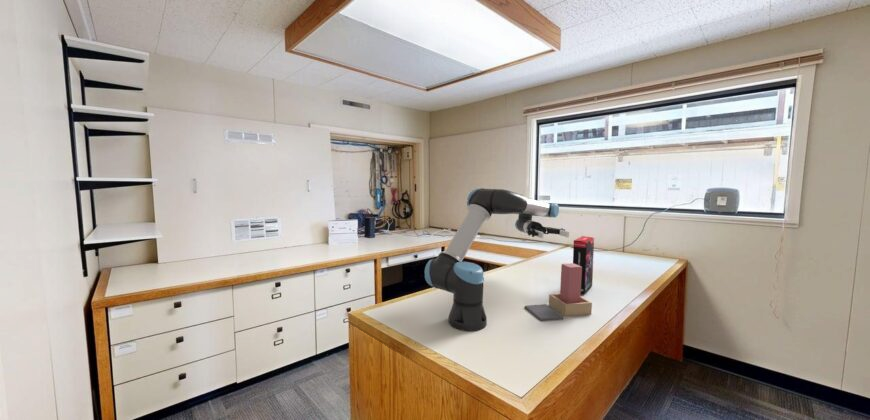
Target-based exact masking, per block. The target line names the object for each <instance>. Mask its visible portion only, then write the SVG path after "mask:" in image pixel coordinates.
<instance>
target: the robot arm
mask: <svg viewBox="0 0 870 420" xmlns="http://www.w3.org/2000/svg"><path fill="white" fill-rule="evenodd" d="M466 206H467V207H466V209H467V213H466V215H465V217H464V219H463V220H462V222H461V224H460V225H459V227H458V229H457V231H456V232H455V234H454V235H453V237H452V239H451V241H450V242H449V244H448V246H447V247H446V249H445V251H441V252H439V254H438V255H437V257H436V258H432V259H429V260H428V262H427V263H426V265H425V267H424V279H425V281H426V283H427V284H428V285H429V286H430V287H433V288H435V289H439V290H442V291H445V292H448V293H451V294H453V302H452V306H451V309H450V311H449V314H448V324H449V325H450V326H451V327H452V328H454V329H458V330H461V331H467V332H471V331H473V332H474V331H479V330H482V329H484V328H486V326H487V325H488V323H487V322H488V320H487V315H486V311H485V308H484V304H483V303H484V301H483V300H484V282H485V278H484V277H485V276H484V270H483V268H482V267H481V266H480V265H479V264H476V263H475V262H470V261H464V259H465V257H466V255H467V253H468V252H469V250H470V248H471V246H472V244H473V242H474V240H475V238H476V237H477V235H478V234H479V231H480V230H481V228H482V226H483V224H484V223H485V222H486V221H489V220H490V219H491V217H492V215H493V214H494V215H518V217H517V219H516V221H515V223H514V226H515V229H517V230H518V231H519V232H521V233H524V234H527V235H528V236H529V237H530V236H531V237H532V238H534V237H537V238H540V239H544V235H549V234H551V235H552V234H553V235H559V236H561V237H565V238H570V231H566V229H563V228H556V227H550V226H548V227H547V226H543V225H542V223H541V222H539V221H534V220H533V217H534V216H535V217H544V218H556V217H557V218H558V216H559V212H560V208H559V207H560V206H559V204H557V203H553V202H551V203H550V202H545V201H541V200H537V199H533V198H529V197H526V196H525V195H524V194H520V193H518V192H515V191H511V190H507V189H502V188H499V189H498V188H483V187H480V188H475V189H473V190H472V191H471V192H469V194H468V196H467V201H466Z"/></svg>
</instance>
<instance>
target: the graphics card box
mask: <svg viewBox="0 0 870 420" xmlns="http://www.w3.org/2000/svg"><path fill="white" fill-rule="evenodd" d="M594 248H595V237H591V236H585V235H582V236H580V237H577V238H576V239H574V240H573V252H572V255H573V256H572V263H574V264H576V265H579V266H581V267H582V278H581V295H585V294H587V292H588V291H589V290H590V289H591V288H592V287H593V277H594V276H593V271H594V252H595V251H594Z"/></svg>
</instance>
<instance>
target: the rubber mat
mask: <svg viewBox="0 0 870 420" xmlns="http://www.w3.org/2000/svg"><path fill="white" fill-rule="evenodd" d="M524 309H526V310H527V312H529V313H530V314H531V315H533V316H535V318H537V319H538V320H539V321H540V322H544V321H546V322H547V321H558V320H559V321H560V320H564V315H561V313H559V312H558V311H557V310H555V309H554V308H552V307H551V306H549V305H547V304H545V303H544V304H532V305H531V304H529V305H528V304H527V305H524Z"/></svg>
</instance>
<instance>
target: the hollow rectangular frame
mask: <svg viewBox="0 0 870 420" xmlns="http://www.w3.org/2000/svg"><path fill="white" fill-rule="evenodd" d="M548 306H549V307H550V308H552V309H553V310H555V311H556V312H557V313H559V314H560V315H561V314H562V316H563V317H570V316H581V315H592V309H593V308H592V307H593V302H591V301H590V300H588V299H586V298H584V297H582V296H580V303H570V304H566V303H564V302H563V301H561V300H560V293H550V294H548Z"/></svg>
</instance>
